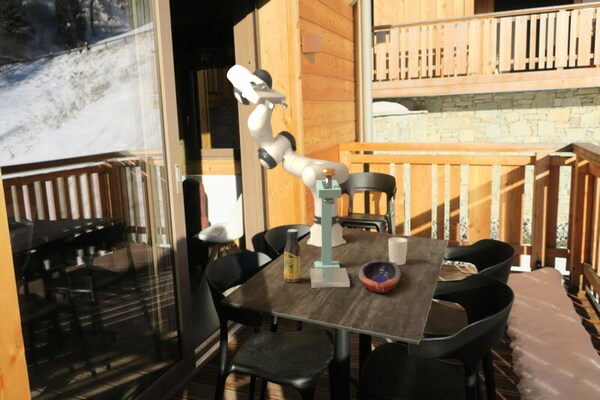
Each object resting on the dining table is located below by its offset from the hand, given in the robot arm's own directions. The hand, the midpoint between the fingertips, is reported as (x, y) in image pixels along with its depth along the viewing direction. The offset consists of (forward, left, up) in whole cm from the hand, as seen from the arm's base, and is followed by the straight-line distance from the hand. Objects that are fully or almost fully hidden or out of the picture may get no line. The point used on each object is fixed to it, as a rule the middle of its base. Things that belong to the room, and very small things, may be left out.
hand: (280, 107), depth 209 cm
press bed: (+30, +18, -65) cm, 74 cm away
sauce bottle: (+30, +4, -66) cm, 72 cm away
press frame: (+24, +18, -65) cm, 72 cm away
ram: (+30, +18, -35) cm, 50 cm away
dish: (+33, +37, -66) cm, 82 cm away
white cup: (+10, +48, -66) cm, 82 cm away
